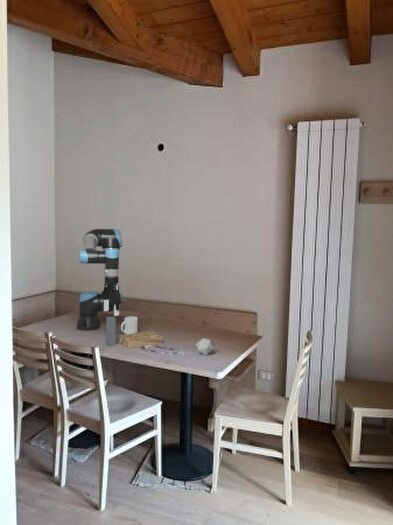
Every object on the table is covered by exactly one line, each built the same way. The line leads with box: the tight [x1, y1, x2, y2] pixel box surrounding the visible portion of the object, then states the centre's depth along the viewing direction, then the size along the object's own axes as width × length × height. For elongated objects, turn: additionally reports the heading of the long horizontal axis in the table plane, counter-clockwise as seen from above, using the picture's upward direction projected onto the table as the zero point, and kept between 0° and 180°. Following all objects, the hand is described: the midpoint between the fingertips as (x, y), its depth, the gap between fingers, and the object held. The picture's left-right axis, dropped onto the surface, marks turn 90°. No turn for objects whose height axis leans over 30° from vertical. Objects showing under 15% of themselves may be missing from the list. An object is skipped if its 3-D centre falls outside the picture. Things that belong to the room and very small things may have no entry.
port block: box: [117, 330, 164, 349], centre depth 274 cm, size 14×22×4 cm, turn 126°
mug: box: [120, 316, 139, 335], centre depth 290 cm, size 12×8×10 cm
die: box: [196, 337, 214, 356], centre depth 258 cm, size 8×9×10 cm
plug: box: [105, 316, 117, 347], centre depth 267 cm, size 4×4×16 cm
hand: (111, 313), depth 265 cm, fingers open, 13 cm apart
